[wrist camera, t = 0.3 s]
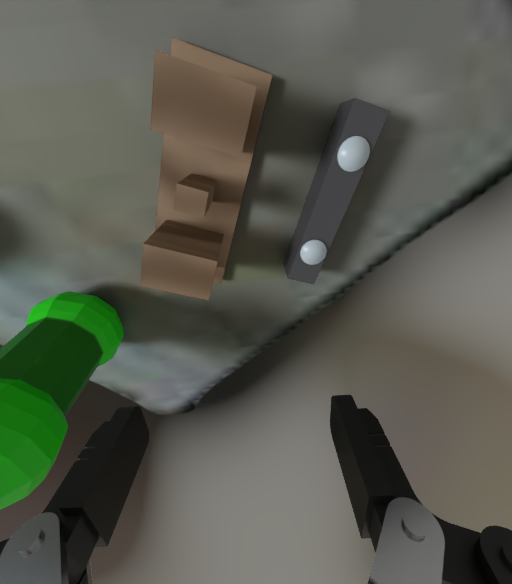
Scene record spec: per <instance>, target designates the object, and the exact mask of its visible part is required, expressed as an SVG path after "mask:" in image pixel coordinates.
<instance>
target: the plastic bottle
mask: <svg viewBox="0 0 512 584" xmlns="http://www.w3.org/2000/svg"><path fill="white" fill-rule="evenodd" d="M123 336H124V328H123V326H122V323H121V321H120V319H119V317H118V314H117V312H116V310H115V309H114V308H113V307H112V306H110V305H109V304H107V303H106V302H105V301H103V300H102V299H100V298H99V297H97V296H93V295H87V294H81V293H75V292H65V293H61V294H59V295H56V296H54V297H52V298H49V299H47V300H45V301H42V302H40V303H38V304H37V305H36V306H35V307H33V308H32V309H31V312H30V314H29V317H28V320H27V325H26V327H25V328H24V329H23V330H22V331H21V332H19V333H18V334H17V335H16V336H15V337H14V338H13V339H11V340H10V341H9V342H8V343H7V344H6V345H4V346H3V347H2V348H1V349H0V510H1V509H3V508H5V507H6V506H9V505H11V504H13V503H15V502H17V501H19V500H21V499H23V498H25V497H27V496H28V495H29V494H30V493H31V492H32V491H33V490H34V489H35V488H36V487H37V486H38V485H39V484H40V483H41V482H42V481H43V480H44V479H45V477H46V475H47V474H48V472H49V470H50V469H51V467H52V465H53V464H54V462H55V459H56V457H57V454H58V452H59V449H60V447H61V445H62V442H63V439H64V437H65V434H66V431H67V428H68V425H67V422H66V419H65V416H66V414H67V412H68V411H69V409H70V408H71V406H72V405H73V403H74V402H75V400H76V399H77V397H78V395H79V393H80V392H81V391H82V389H83V388H84V386H85V385H86V383H87V381H88V380H89V378H90V377H91V375H92V374H93V372H94V371H95V369H96V368H97V367H98V366H100V365H102V364H104V363H106V362H107V361H109V360H110V359H112V358H113V356H114V354H115V353H116V351H117V349H118V347H119V345H120V342H121V340H122V338H123Z"/></svg>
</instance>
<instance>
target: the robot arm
mask: <svg viewBox="0 0 512 584" xmlns="http://www.w3.org/2000/svg"><path fill="white" fill-rule="evenodd" d="M330 428H331V434H332V438H333V442H334V445H335V449H336V452H337V455H338V459H339V463H340V466H341V470H342V473H343V477H344V480H345V483H346V487H347V490H348V494H349V497H350V501H351V504H352V508H353V511H354V515H355V518H356V522H357V525H358V528H359V532H360V536H361V538H371V540H372V543H373V546H374V550H375V557H374V562H373V565H372V569H371V573H370V577H369V581H368V584H512V531H511V530H509V529H507V528H503V527H500V526H489V527H486V528H485V529H484V530H483V531H482V533H479V532H475V531H473V530H470V529H466V528H463V527H460V526H457V525H454V524H451V523H448V522H446V521H444V520H442V519H440V518H438V517H437V516H435V515H434V514H432V513H431V512H430V511H429V510H428V509H427V508H426V507H424V506H423V504H422V503H421V502H420V501H419V500H418V498H417V497H416V495H415V494H414V492H413V490H412V488H411V486H410V484H409V482H408V479H407V478H406V476H405V473H404V471H403V469H402V468H401V465H400V463H399V461H398V459H397V457H396V455H395V453H394V451H393V449H392V447H390V443H389V441H388V439H387V437H386V436H385V434H384V431H383V429H382V427H381V425H380V423H379V421H378V419H377V418H376V417H375V416H374V415H373V414H372V413H371V412H370V411H369V410H368V409H367V408H363V409H358V408H357V406H356V404H355V402H354V399H353V397H352V396H351V395H337V396H332V398H331V413H330ZM148 442H149V429H148V427H147V424H146V421H145V418H144V415H143V413H142V410H141V408H140V407H139V406H128V407H119V408H118V409H117V410H116V412H115V413H114V415H113V417H112V419H111V420H110V421H108V422H104V423H103V424H102V425H101V426H100V427H99V428H98V429H97V430H96V431H95V432H94V433H93V434H92V436H91V437H90V439H89V440H88V442H87V444H86V445H85V447H84V450H82V451H81V453H80V455H79V456H78V458H77V461H76V462H75V463H74V464H73V466H72V467H71V469H70V471H69V472H68V474H67V476H66V477H65V479H64V480H63V482H62V483H61V485H60V487H59V488H58V490H57V491H56V493H55V495H54V496H53V498H52V499H51V501H50V502H49V504H48V505H47V507H46V509H45V510H44V511H43V512H42V514H40V515H37V516H35V517H33V518H32V519H30V520H29V521H27V522H26V523H25V524H23V525H22V526H21V527H20V528H19V529H18V530H17V531H16V532H15V533H14V534H13V536H12V537H11V538H9V539H7V540H4V541H2V542H0V584H93V580H92V572H91V564H90V560H89V559H90V556H91V554H92V552H93V549H94V547H102V546H103V547H104V546H108V544H109V541H110V539H111V536H112V534H113V531H114V529H115V526H116V524H117V521H118V519H119V516H120V514H121V511H122V509H123V506H124V503H125V501H126V499H127V496H128V494H129V491H130V488H131V486H132V484H133V481H134V478H135V476H136V474H137V471H138V469H139V466H140V464H141V461H142V459H143V456H144V454H145V451H146V448H147V446H148Z"/></svg>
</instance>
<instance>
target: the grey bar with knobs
mask: <svg viewBox="0 0 512 584" xmlns="http://www.w3.org/2000/svg"><path fill="white" fill-rule="evenodd" d="M389 112H390V111H389V110H387V109H384V108H381V107H378V106H375V105H373V104H370V103H367V102H364V101H362V100H359V99H356V98H354V99H351V100H349V101H346V102H343V103H340V105H339V108H338V111H337V114H336V117H335V119H334V122H333V125H332V128H331V131H330V134H329V136H328V139H327V142H326V145H325V148H324V151H323V153H322V156H321V159H320V162H319V165H318V168H317V170H316V173H315V176H314V179H313V182H312V185H311V187H310V190H309V193H308V196H307V199H306V201H305V204H304V207H303V210H302V213H301V216H300V218H299V221H298V224H297V227H296V230H295V233H294V235H293V238H292V241H291V244H290V247H289V250H288V252H287V255H286V258H285V261H284V267H285V270H286V274H287V277H288V278H289V279H293V280H298V281H302V282H306V283H311V284H314V283H315V281H316V278H317V276H318V274H319V271H320V269H321V267H322V265H323V262H324V260H325V258H326V256H327V253H328V251H329V249H330V246H331V244H332V242H333V240H334V237H335V235H336V233H337V230H338V228H339V226H340V224H341V221H342V219H343V217H344V214H345V212H346V210H347V208H348V205H349V203H350V201H351V198H352V196H353V194H354V192H355V189H356V187H357V185H358V183H359V180H360V178H361V176H362V173H363V171H364V169H365V167H366V164H367V162H368V160H369V157H370V155H371V153H372V151H373V148H374V146H375V144H376V141H377V139H378V137H379V135H380V132H381V130H382V128H383V125H384V123H385V121H386V119H387V116H388V114H389Z"/></svg>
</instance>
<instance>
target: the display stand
mask: <svg viewBox="0 0 512 584" xmlns="http://www.w3.org/2000/svg"><path fill="white" fill-rule="evenodd" d="M271 79H272V75H271V74H268V73H266V72H263V71H260V70H258V69H255V68H252V67H250V66H247V65H244V64H242V63H239V62H236V61H234V60H231V59H228V58H226V57H223V56H220V55H218V54H215V53H212V52H210V51H207V50H204V49H202V48H199V47H196V46H194V45H191V44H188V43H186V42H183V41H180V40H178V39H175V38H172V42H171V53H170V55H169V54H166V53H163V52H160V51H158V50H155V64H154V80H153V96H152V112H151V128H150V130H153V131H156V132H159V133H163V134H164V136H163V148H162V160H161V171H160V183H159V195H158V207H157V219H156V230H155V232H154V233H153V234H152V235H151V236H150V237H149V238H148V239H147V240H146V242H145V243H144V244H143V258H142V274H141V286H144V287H149V288H153V289H158V290H163V291H167V292H172V293H177V294H181V295H186V296H191V297H196V298H200V299H205V300H209V298H210V293H211V289H212V285H213V282H216V283H221V284H222V280H223V275H224V271H225V267H226V263H227V259H228V255H229V251H230V247H231V243H232V239H233V234H234V230H235V226H236V222H237V218H238V214H239V210H240V206H241V202H242V198H243V193H244V189H245V185H246V181H247V177H248V173H249V169H250V165H251V161H252V157H253V153H254V148H255V144H256V140H257V136H258V132H259V128H260V124H261V120H262V116H263V112H264V107H265V103H266V99H267V95H268V91H269V87H270V83H271Z"/></svg>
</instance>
